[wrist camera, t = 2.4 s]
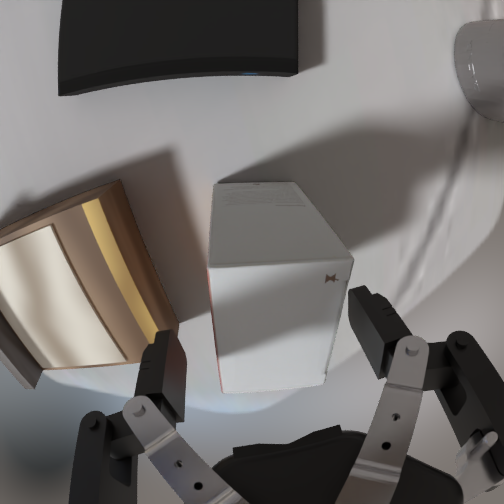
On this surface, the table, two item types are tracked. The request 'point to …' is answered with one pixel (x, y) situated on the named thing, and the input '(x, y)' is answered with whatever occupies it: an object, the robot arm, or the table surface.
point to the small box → (273, 286)
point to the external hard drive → (173, 41)
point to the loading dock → (78, 288)
